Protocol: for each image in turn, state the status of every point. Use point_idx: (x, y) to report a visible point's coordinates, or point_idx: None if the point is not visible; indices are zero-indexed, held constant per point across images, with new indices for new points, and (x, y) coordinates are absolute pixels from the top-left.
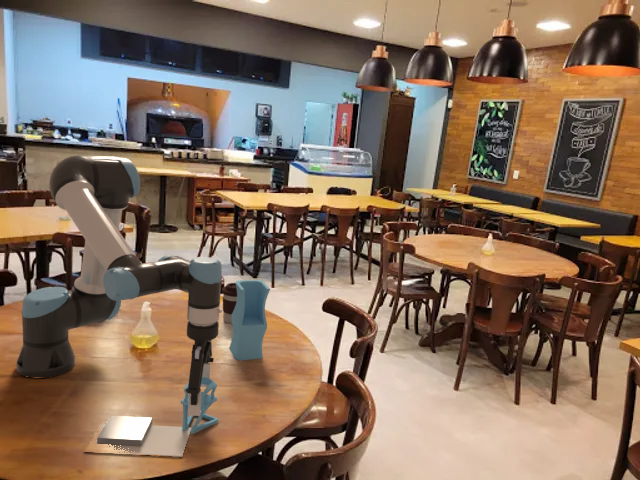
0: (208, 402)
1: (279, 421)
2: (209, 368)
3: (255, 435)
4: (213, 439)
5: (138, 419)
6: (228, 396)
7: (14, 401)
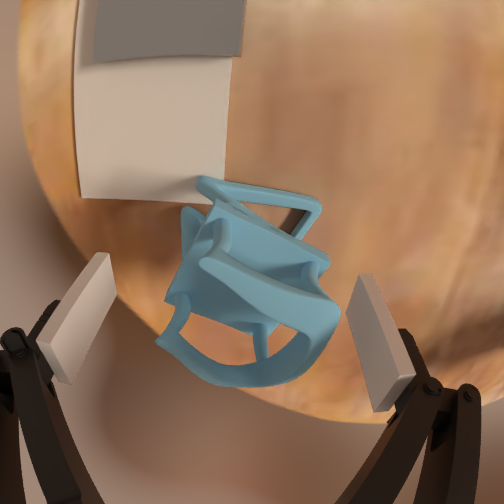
0: (218, 316)
1: (265, 389)
2: (369, 390)
3: (206, 353)
4: (174, 268)
5: (223, 6)
6: (401, 297)
7: None
